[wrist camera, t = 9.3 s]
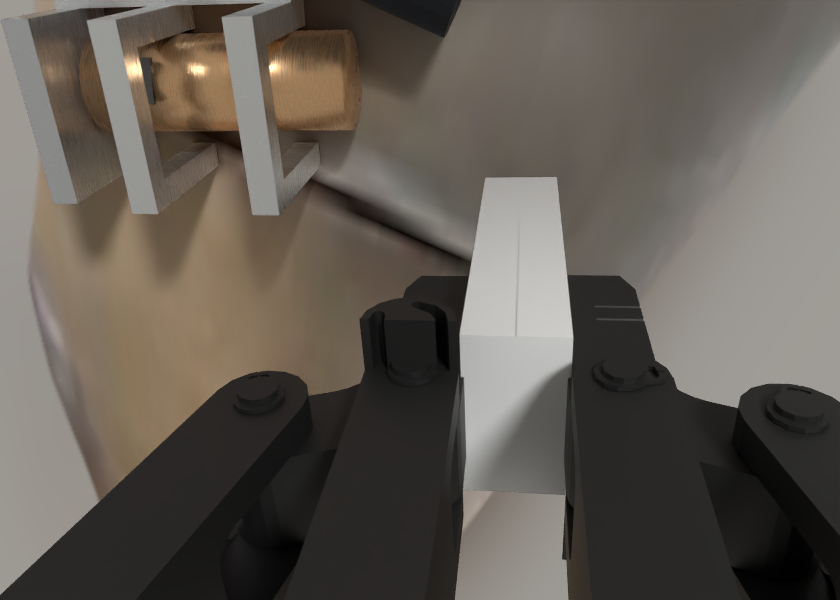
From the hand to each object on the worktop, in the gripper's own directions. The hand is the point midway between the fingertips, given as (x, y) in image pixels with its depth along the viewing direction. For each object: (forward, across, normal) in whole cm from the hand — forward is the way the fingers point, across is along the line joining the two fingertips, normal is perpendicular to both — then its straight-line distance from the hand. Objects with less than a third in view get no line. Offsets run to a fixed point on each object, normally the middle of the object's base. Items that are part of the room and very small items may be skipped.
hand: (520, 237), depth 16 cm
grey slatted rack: (+20, -16, -1) cm, 26 cm away
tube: (+21, -14, -1) cm, 25 cm away
